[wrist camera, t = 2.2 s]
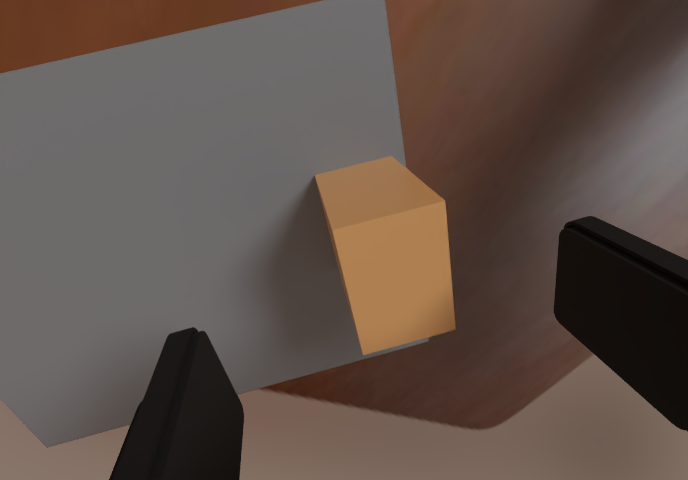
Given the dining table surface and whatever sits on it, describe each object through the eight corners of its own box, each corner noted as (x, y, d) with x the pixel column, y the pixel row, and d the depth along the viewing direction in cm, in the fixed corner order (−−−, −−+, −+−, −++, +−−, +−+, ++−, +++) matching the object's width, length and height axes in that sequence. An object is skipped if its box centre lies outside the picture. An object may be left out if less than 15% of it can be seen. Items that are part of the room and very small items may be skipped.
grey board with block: (367, -3, 13) (449, -60, 7) (414, 314, 20) (476, 430, 14) (-172, 120, 12) (-650, 183, 6) (70, 408, 19) (-33, 580, 13)
